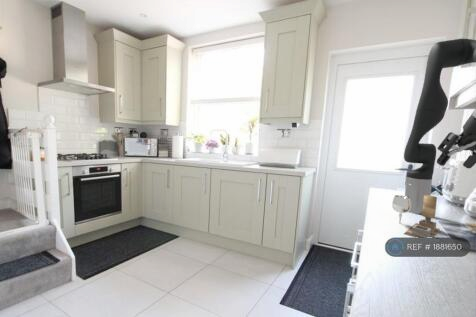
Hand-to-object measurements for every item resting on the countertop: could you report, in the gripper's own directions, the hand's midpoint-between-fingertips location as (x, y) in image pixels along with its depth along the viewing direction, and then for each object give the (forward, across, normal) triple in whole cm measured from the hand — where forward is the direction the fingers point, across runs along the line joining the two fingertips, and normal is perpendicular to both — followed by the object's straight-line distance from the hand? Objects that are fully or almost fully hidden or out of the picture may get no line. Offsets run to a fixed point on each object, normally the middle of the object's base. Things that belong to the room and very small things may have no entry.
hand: (452, 165), depth 69 cm
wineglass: (+30, +2, 0) cm, 30 cm away
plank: (+26, 0, +6) cm, 27 cm away
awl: (+26, -5, +3) cm, 26 cm away
